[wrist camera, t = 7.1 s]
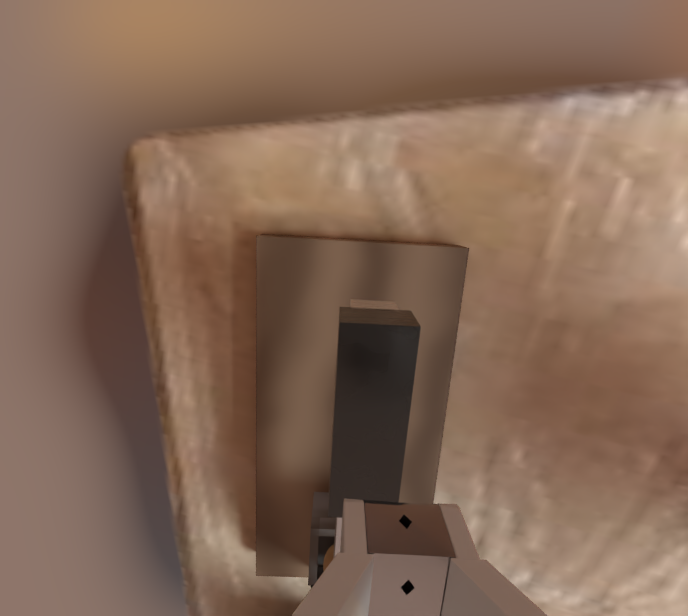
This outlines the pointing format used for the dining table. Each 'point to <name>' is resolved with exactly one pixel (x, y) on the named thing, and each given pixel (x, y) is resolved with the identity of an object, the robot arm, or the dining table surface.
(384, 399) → the lever
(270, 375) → the press base
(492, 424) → the dining table surface
